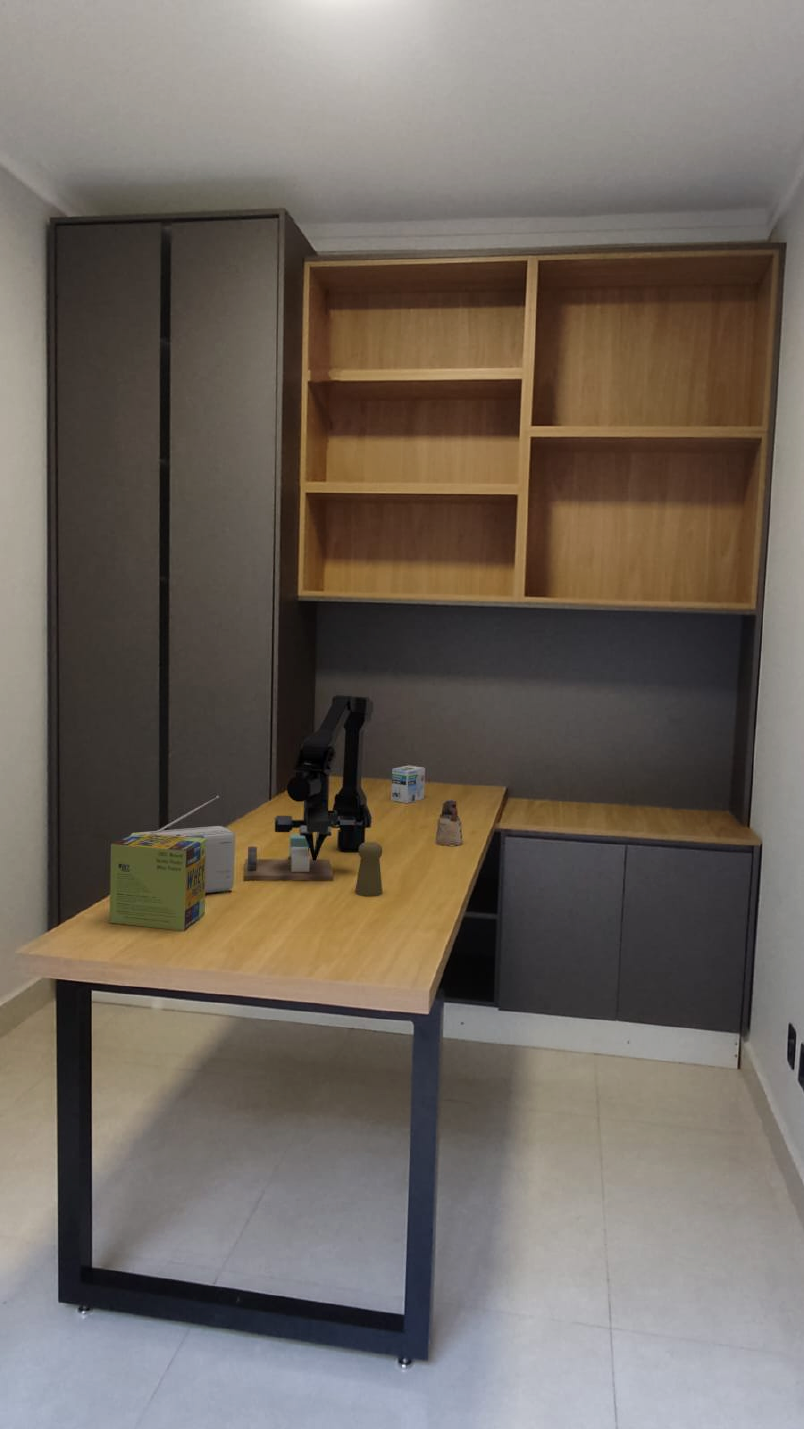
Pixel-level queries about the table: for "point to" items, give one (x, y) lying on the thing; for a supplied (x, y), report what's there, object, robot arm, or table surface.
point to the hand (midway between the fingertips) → (314, 860)
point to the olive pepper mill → (369, 870)
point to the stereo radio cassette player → (211, 852)
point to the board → (283, 869)
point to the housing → (300, 859)
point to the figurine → (449, 825)
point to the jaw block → (298, 841)
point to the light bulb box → (408, 784)
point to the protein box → (158, 881)
